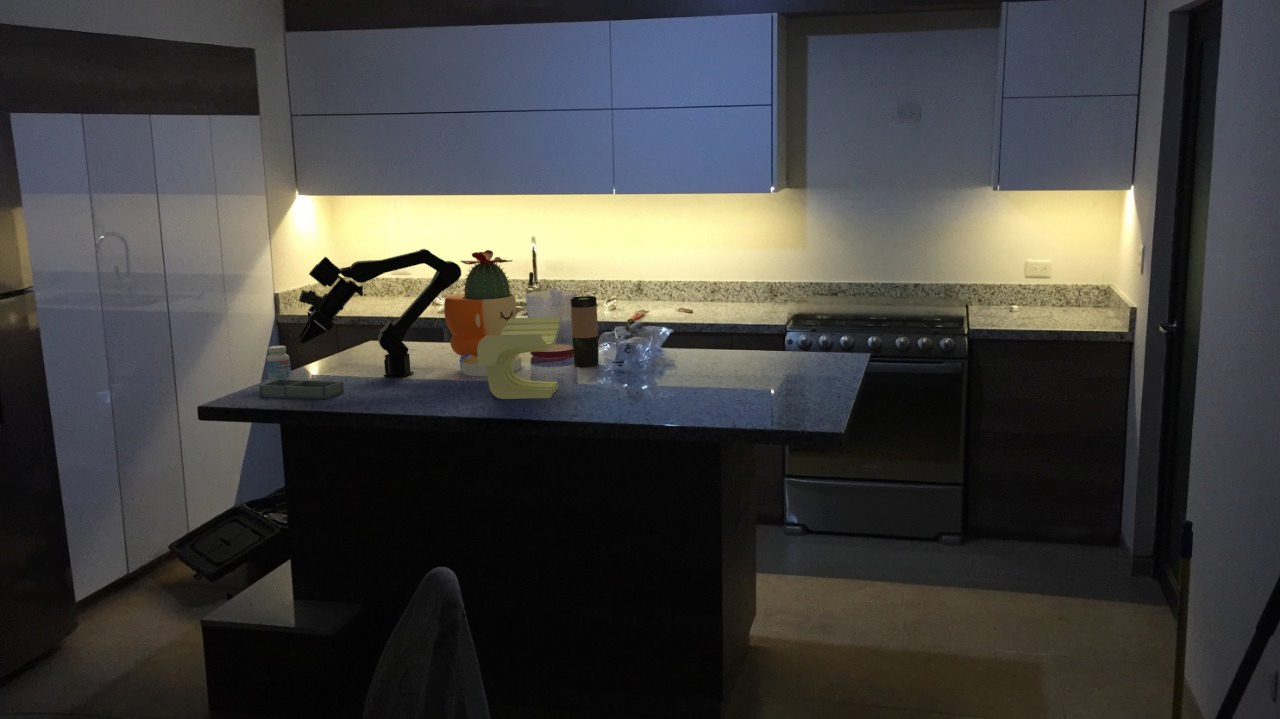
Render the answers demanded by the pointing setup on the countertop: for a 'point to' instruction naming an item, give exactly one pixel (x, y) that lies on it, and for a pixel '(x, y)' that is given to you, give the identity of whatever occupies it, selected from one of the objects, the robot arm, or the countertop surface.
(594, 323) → the travel mug
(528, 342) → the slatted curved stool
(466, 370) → the potted cactus
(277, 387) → the tray
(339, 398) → the countertop surface
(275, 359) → the pill bottle
